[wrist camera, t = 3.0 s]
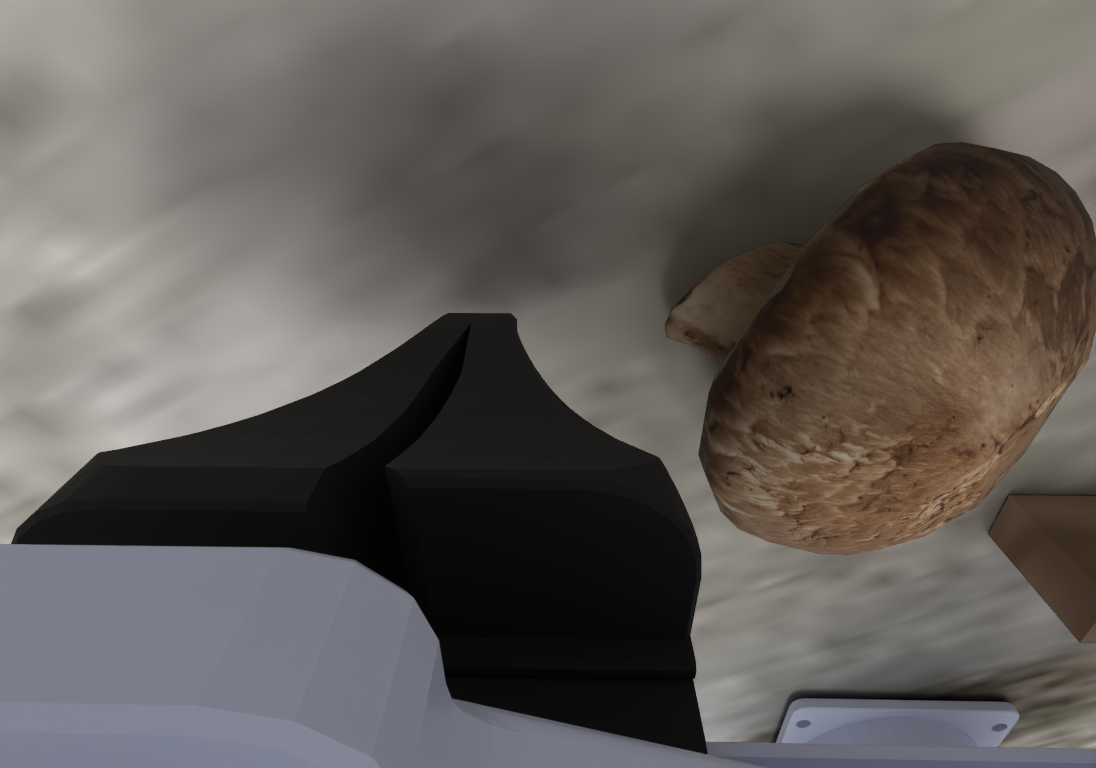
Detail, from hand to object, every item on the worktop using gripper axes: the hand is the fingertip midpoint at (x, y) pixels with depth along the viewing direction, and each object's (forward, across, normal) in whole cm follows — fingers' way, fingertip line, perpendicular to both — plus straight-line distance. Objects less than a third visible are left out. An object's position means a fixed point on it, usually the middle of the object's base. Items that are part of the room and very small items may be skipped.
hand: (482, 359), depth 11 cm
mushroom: (+3, -7, 0) cm, 8 cm away
